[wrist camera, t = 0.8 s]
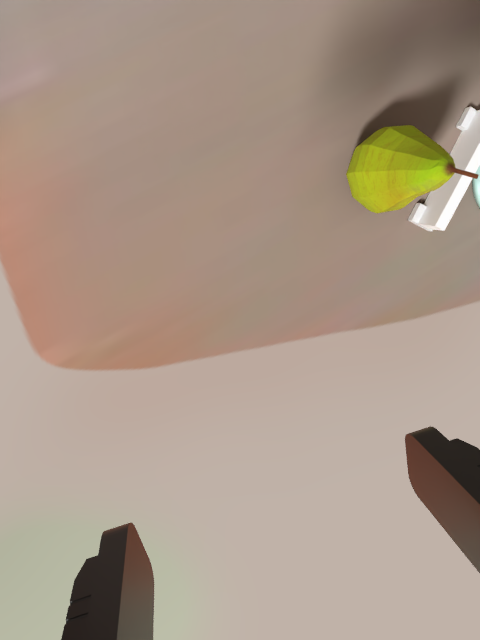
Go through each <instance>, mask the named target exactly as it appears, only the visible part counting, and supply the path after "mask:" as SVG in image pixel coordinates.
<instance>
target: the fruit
mask: <svg viewBox="0 0 480 640" xmlns="http://www.w3.org/2000/svg"><path fill="white" fill-rule="evenodd" d="M454 173H457V174H461V175H465V176H468V177H472V178H475V179H477V178H478V176H479V175H478V174H475V173H471V172H468V171H464V170H460V169H457V168H456V167H455V163H454V160H453V158H452V157H451V156H450V155H449V154H448V153H447V152H446V151H445V150H444V149H443V148H442V147H441V146H440V145H438V144H437V143H436V142H434V141H433V140H432V139H430V138H429V137H428V136H426V135H425V134H424V133H422V132H421V131H419V130H418V129H417V128H415V127H414V126H411V125H404V126H391V127H383V128H381V129H379V130H377V131H376V132H375V133H373V134H372V135H371V136H370V137H368V138H367V139H366V140H365V141H363V142H362V143H361V144H360V145H358V146H357V147H356V149H355V150H354V153H353V156H352V159H351V162H350V165H349V168H348V171H347V173H346V175H347V179H348V182H349V186H350V189H351V193H352V196H353V197H354V198H355V199H356V200H357V201H358V202H360V203H361V204H362V205H363V206H364V207H366V208H367V209H368V210H370V211H371V212H375V213H381V212H387V211H393V210H399V209H402V208H403V207H405V206H406V205H407V204H409V203H410V202H411V201H412V200H414V199H415V198H416V197H418V196H420V195H423V194H425V193H428V192H430V191H434V190H436V189H438V188H440V187H441V186H442V185H443V184H445V183H446V182H447V181H448V180H449V179H450V178H451V177H452V176H453V175H454Z"/></svg>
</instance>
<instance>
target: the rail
mask: <svg viewBox="0 0 480 640" xmlns="http://www.w3.org/2000/svg"><path fill="white" fill-rule="evenodd" d="M456 127H457V128H459V129H460V130H462V132H461V134H460V135H459V137H458V139H457V141H456V143H455V145H454V147H453V149H452V151H451V153H450V156H451V157H452V158H453V160H454V163H455V167H456V168H457V169H460V170H464V171H468V172H471V173H476V171H477V169H478V167H479V166H480V110H478V111H477V110H475V109H474V108H472V107H467V108H465V110H464V112H463V114H462V116H461V118H460V120H459V122H458V124H457V126H456ZM471 180H472V177H468V176H465V175H461V174H457V173H454V175H453V176H452V177H451V178H450V179H449V180H448V181H447V182H446V183H445V184H443V185H442V186H441V187H440V188H438V189H436V190H434V191H430V193H429V195H428V197H427V199H426V201H425V203H424V204H421V203H416V205H415V207H414V209H413V211H412V213H411V214H410V216H409V218H408V221H410V222H412V223H414V224H416V225H418V226H420V227H422V228H423V229H425V230H427V231H433V229H434V230H441V231H444V230H445V228H446V227H447V225H448V223H449V221H450V219H451V217H452V215H453V214H454V212H455V210H456V208H457V206H458V204H459V203H460V201H461V199H462V197H463V195H464V193H465V191H466V190H467V188H468V186H469V184H470V182H471Z"/></svg>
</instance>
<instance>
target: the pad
mask: <svg viewBox="0 0 480 640" xmlns="http://www.w3.org/2000/svg"><path fill="white" fill-rule="evenodd" d="M475 174H478V175H479V176H478V178H477V179H475V178H472V187H473V194H474V198H475V200H476V203H477V205H478V207H479V208H480V166H479V167H478V169H477V171H476V173H475Z"/></svg>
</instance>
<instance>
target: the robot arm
mask: <svg viewBox="0 0 480 640" xmlns="http://www.w3.org/2000/svg"><path fill="white" fill-rule="evenodd" d="M405 443H406V454H407V465H408V474H409V479H410V482H411V484H412V487H413V489H414V491H415V493H416V494H417V496H418V497H419V498H420V500H421V501H422V502H423V503H424V505H425V506H426V507H427V508H428V510H429V511H430V512H431V513H432V514H433V516H434V517H435V518H436V519H437V521H438V522H439V523H440V525H441V526H442V527H443V528H444V529H445V531H446V532H447V533H448V534H449V536H450V537H451V538H452V539H453V541H454V542H455V543H456V544H457V546H458V547H459V548H460V549H461V551H462V552H463V553H464V554H465V555H466V557H467V558H468V559H469V560H470V561H471V563H472V564H473V565H474V566H475V568H476V569H477V570H478V572H479V573H480V450H479V449H478V448H477V447H475V446H472V445H470V444H468V443H466V442H464V441H462V440H459V439H454V440H451V441H449V440H448V439H447V438H446V437H444V436H443V435H442V434H441V433H440V432H439V431H438V430H437V429H435V428H434V427H428V428H424V429H422V430H419V431H415V432H412V433H409V434H407V435H406V437H405ZM153 615H154V578H153V571H152V567H151V563H150V560H149V558H148V555H147V553H146V551H145V549H144V546H143V544H142V542H141V539H140V537H139V535H138V533H137V530H136V528H135V526H134V525H133V523H128V524H125V525H122V526H119V527H116V528H113V529H110V530H107V531H104V532H103V534H102V537H101V542H100V548H99V554H98V556H95V557H92V558H89V559H86V561H85V563H84V565H83V567H82V568H81V570H80V572H79V573H78V575H77V577H76V579H75V581H74V585H73V590H72V594H71V599H70V606H69V608H68V613H67V617H66V624H65V626H64V631H63V635H62V639H61V640H153Z"/></svg>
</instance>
